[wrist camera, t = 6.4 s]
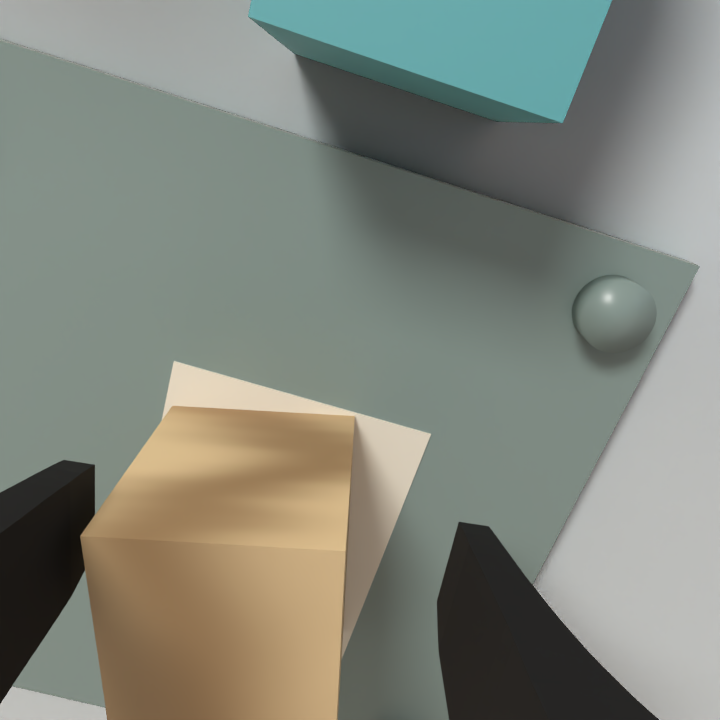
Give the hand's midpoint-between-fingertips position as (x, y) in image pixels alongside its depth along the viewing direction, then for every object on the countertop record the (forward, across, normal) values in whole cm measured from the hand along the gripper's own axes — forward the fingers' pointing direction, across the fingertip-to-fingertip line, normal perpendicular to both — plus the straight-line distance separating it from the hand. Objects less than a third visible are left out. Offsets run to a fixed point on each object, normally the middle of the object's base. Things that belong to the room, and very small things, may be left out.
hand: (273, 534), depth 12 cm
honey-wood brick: (+3, 0, +3) cm, 4 cm away
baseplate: (+4, +2, +2) cm, 5 cm away
